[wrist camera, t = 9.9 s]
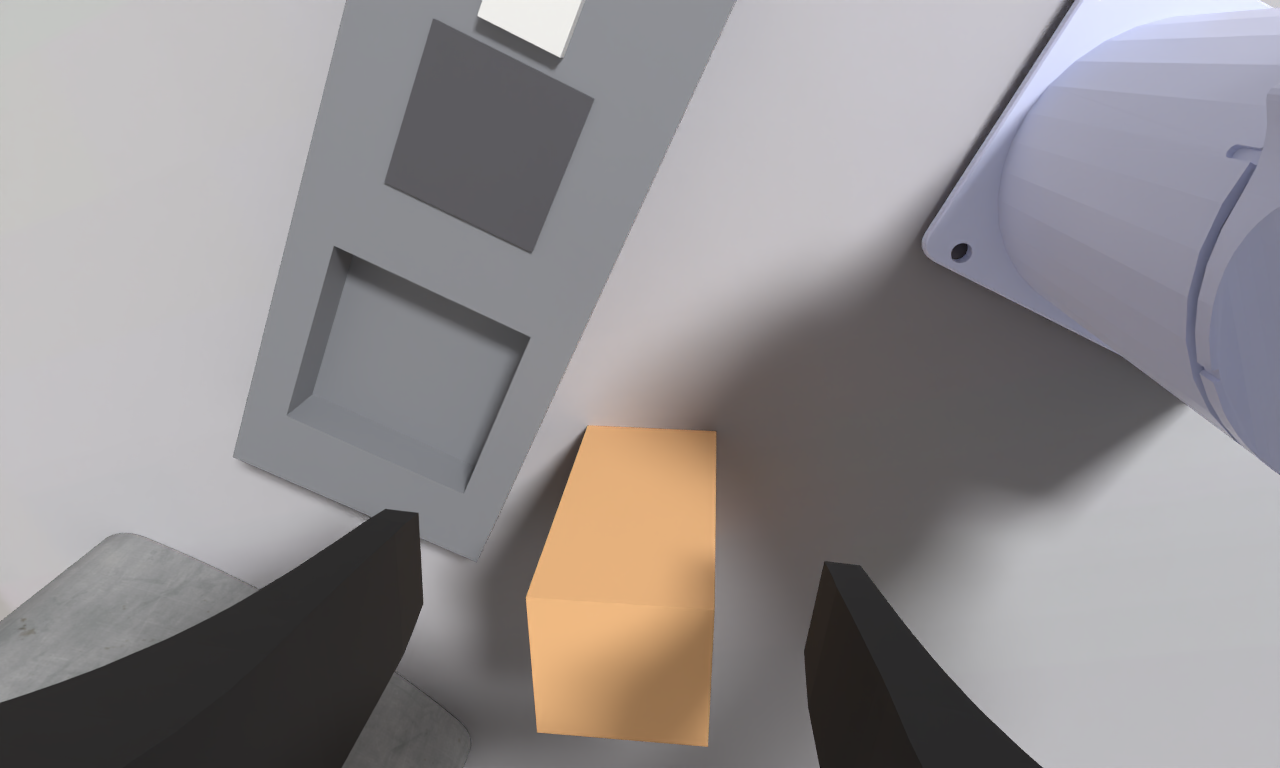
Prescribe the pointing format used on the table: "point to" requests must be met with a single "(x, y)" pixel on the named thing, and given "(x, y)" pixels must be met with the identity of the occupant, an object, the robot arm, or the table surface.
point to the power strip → (459, 241)
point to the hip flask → (166, 605)
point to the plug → (629, 590)
